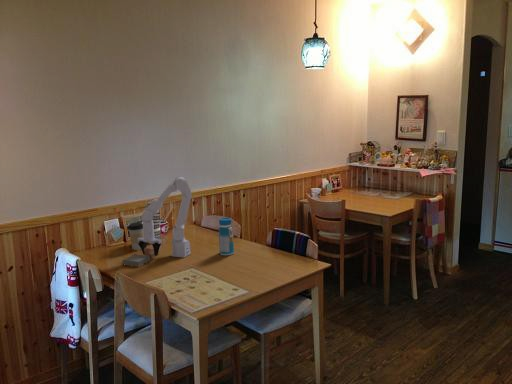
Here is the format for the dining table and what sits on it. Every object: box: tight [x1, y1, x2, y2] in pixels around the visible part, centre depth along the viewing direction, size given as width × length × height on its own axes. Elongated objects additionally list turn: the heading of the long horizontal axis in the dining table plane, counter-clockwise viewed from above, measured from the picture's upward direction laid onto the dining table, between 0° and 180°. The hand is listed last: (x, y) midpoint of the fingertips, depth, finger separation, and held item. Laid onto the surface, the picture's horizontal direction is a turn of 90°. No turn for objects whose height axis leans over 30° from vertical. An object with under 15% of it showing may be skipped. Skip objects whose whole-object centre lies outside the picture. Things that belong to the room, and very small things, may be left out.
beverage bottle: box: [218, 217, 235, 256], centre depth 260 cm, size 8×8×20 cm
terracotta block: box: [144, 245, 157, 260], centre depth 259 cm, size 4×4×6 cm
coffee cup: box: [127, 222, 144, 251], centre depth 274 cm, size 9×9×15 cm
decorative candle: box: [145, 201, 163, 244], centre depth 287 cm, size 9×9×25 cm
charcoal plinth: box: [122, 253, 151, 267], centre depth 251 cm, size 10×10×3 cm
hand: (150, 254), depth 259 cm, fingers open, 7 cm apart
